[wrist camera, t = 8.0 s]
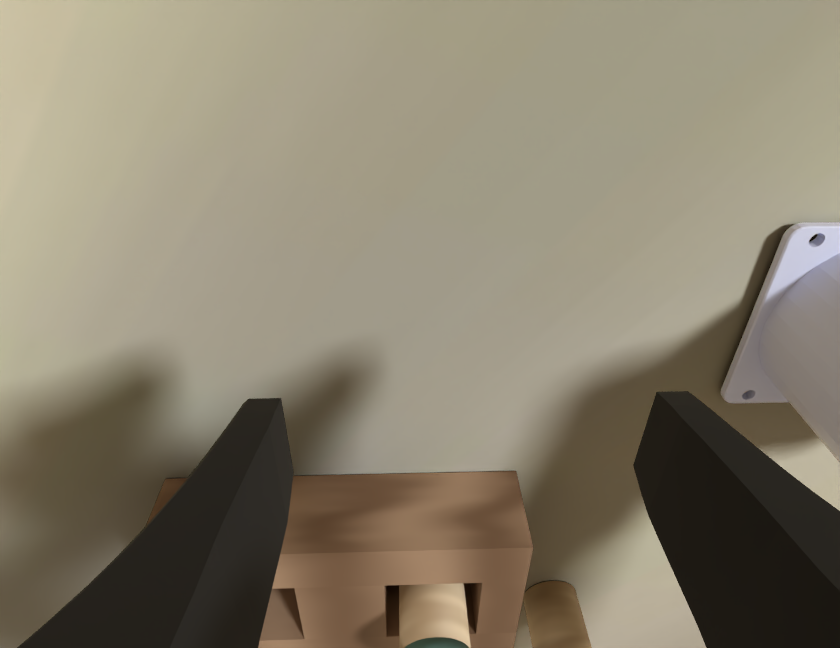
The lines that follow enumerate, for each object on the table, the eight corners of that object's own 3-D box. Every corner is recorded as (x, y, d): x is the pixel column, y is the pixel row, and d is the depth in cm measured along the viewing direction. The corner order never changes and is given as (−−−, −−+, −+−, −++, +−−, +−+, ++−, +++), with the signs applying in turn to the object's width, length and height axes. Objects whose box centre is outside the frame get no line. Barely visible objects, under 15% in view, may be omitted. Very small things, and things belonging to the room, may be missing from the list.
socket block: (516, 471, 27) (533, 547, 23) (499, 582, 32) (511, 657, 28) (165, 478, 26) (132, 558, 23) (205, 590, 31) (182, 668, 28)
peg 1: (451, 508, 28) (466, 658, 22) (462, 544, 30) (479, 692, 24) (391, 518, 28) (391, 669, 22) (406, 554, 30) (409, 702, 24)
